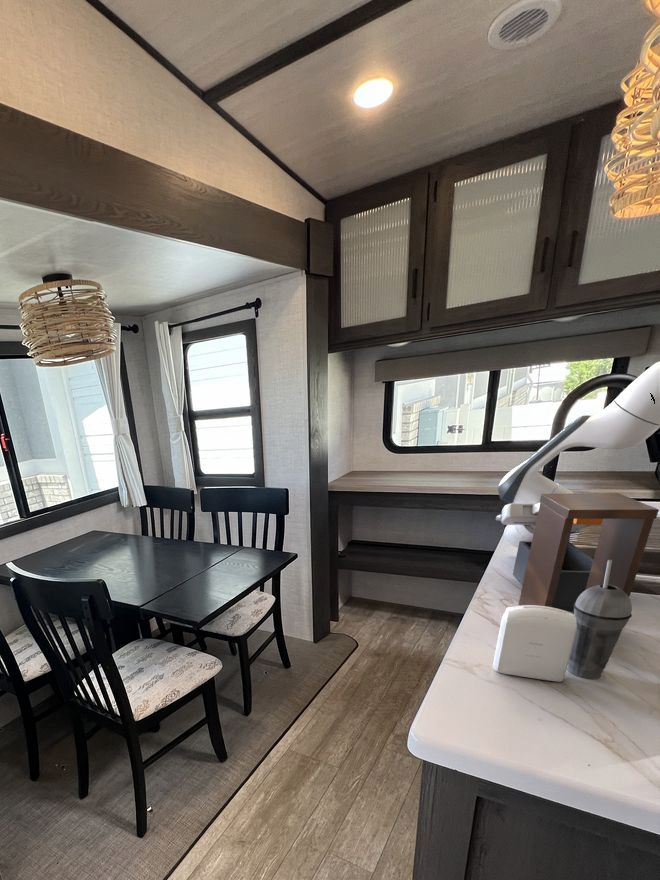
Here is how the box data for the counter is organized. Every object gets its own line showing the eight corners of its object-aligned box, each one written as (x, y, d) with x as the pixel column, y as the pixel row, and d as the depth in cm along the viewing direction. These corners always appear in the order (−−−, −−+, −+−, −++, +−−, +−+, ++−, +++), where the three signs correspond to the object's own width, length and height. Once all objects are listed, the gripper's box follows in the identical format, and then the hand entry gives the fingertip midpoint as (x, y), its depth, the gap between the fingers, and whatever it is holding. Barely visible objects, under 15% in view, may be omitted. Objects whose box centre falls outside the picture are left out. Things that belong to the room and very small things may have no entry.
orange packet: (544, 504, 109) (547, 492, 108) (566, 504, 108) (569, 492, 107) (575, 524, 94) (579, 510, 93) (601, 524, 92) (605, 510, 91)
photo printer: (492, 673, 80) (505, 608, 75) (491, 661, 83) (504, 598, 78) (565, 685, 75) (585, 617, 70) (561, 672, 79) (579, 606, 74)
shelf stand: (581, 621, 94) (617, 492, 84) (613, 654, 83) (659, 509, 72) (514, 618, 98) (541, 493, 87) (535, 648, 86) (569, 509, 76)
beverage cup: (623, 680, 76) (662, 563, 68) (584, 686, 75) (619, 569, 67) (583, 657, 82) (614, 549, 74) (546, 663, 81) (574, 555, 74)
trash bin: (561, 575, 116) (569, 541, 113) (601, 612, 97) (612, 573, 94) (512, 574, 119) (519, 541, 116) (542, 609, 100) (551, 571, 97)
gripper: (493, 508, 121) (512, 490, 107) (586, 508, 115) (618, 489, 102) (492, 532, 120) (511, 517, 107) (586, 533, 114) (618, 517, 101)
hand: (564, 503), depth 104 cm, fingers closed on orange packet, 4 cm apart
